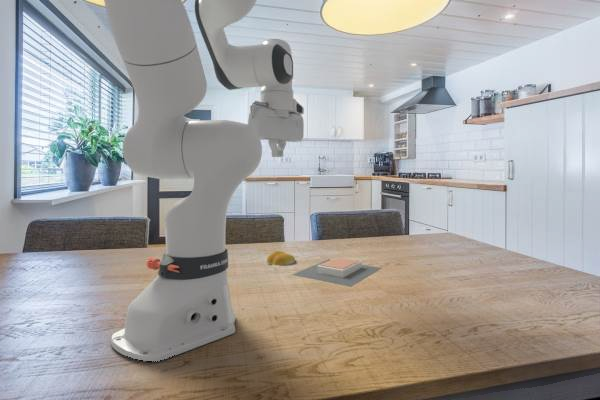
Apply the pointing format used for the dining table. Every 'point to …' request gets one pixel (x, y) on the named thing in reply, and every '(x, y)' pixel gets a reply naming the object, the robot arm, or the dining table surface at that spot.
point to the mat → (346, 280)
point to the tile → (339, 267)
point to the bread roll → (280, 258)
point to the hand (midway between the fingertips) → (277, 157)
